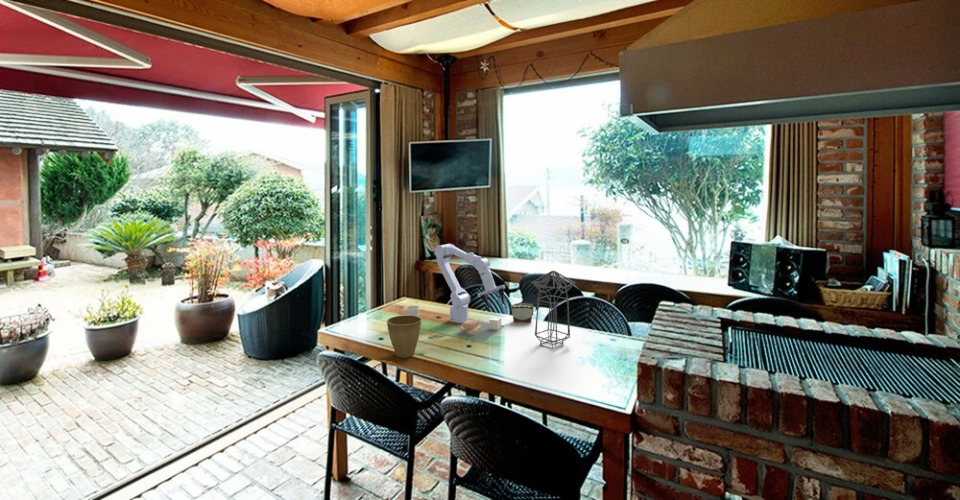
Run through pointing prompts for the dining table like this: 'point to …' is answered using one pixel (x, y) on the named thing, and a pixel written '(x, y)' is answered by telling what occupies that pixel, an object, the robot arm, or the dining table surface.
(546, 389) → the dining table surface
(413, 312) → the dixie cup
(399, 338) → the plant pot
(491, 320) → the top block
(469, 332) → the bottom slab
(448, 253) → the robot arm
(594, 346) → the dining table surface
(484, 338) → the mat
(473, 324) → the middle block
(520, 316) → the food container
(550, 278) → the geometric lantern
